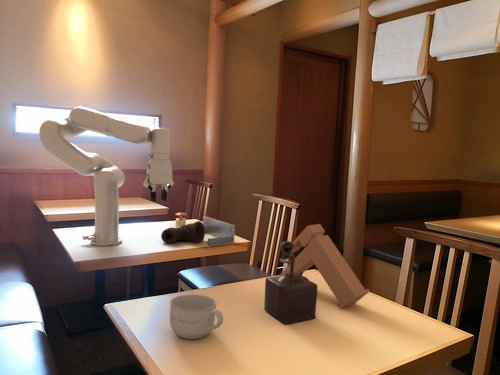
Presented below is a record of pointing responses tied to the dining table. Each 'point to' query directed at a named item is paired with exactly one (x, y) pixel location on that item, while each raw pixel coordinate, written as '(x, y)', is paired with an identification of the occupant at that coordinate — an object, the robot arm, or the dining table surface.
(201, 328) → the teacup
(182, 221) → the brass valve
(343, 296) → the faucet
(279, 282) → the pepper mill
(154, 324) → the dining table surface
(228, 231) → the grey angle bracket
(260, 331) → the dining table surface
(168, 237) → the pipe
